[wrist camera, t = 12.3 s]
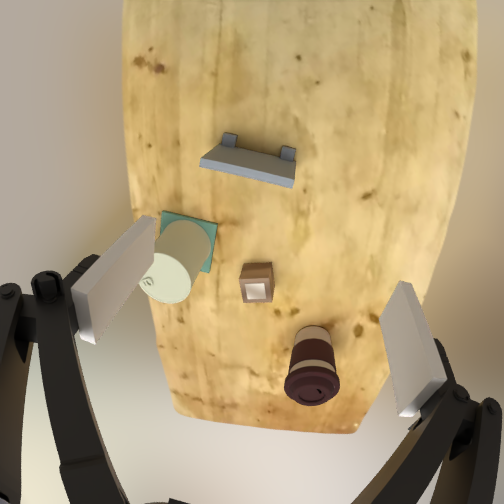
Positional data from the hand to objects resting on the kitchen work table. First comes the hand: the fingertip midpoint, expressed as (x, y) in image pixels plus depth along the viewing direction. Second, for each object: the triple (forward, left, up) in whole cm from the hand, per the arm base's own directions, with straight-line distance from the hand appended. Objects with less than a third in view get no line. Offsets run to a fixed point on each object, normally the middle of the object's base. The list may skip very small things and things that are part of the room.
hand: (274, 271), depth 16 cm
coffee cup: (+36, +14, -35) cm, 52 cm away
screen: (+3, -5, -35) cm, 35 cm away
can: (+21, -14, -34) cm, 43 cm away
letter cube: (+24, 0, -35) cm, 42 cm away
